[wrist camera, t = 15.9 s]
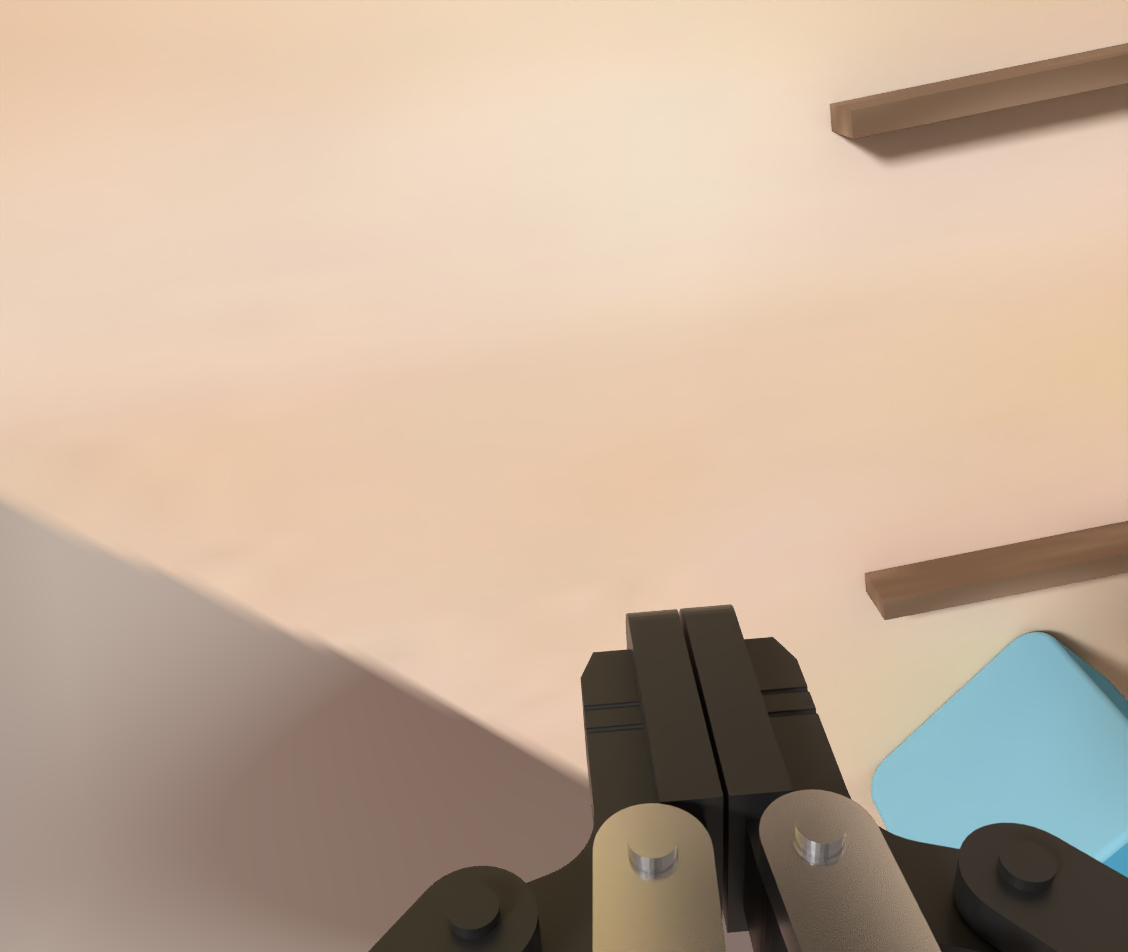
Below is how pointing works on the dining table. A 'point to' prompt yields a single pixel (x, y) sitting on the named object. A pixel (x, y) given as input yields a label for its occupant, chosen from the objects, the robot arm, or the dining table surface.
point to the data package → (1017, 756)
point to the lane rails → (1035, 558)
